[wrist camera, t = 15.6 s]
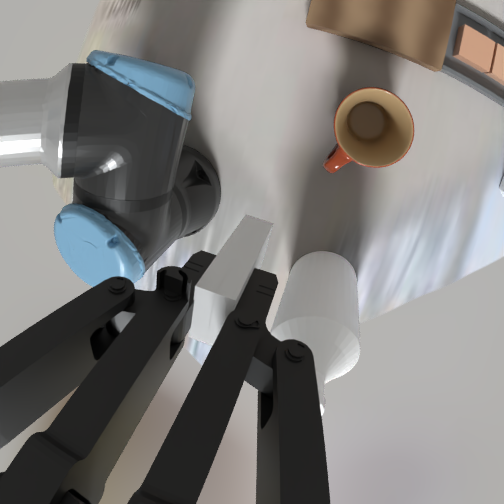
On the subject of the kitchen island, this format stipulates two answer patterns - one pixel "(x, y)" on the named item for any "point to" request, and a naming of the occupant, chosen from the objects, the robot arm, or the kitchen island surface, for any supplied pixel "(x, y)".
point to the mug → (370, 130)
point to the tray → (463, 70)
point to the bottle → (322, 314)
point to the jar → (502, 187)
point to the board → (390, 25)
